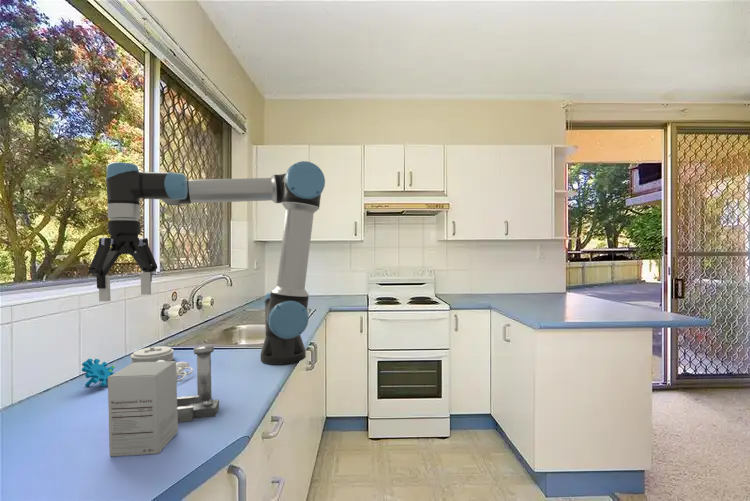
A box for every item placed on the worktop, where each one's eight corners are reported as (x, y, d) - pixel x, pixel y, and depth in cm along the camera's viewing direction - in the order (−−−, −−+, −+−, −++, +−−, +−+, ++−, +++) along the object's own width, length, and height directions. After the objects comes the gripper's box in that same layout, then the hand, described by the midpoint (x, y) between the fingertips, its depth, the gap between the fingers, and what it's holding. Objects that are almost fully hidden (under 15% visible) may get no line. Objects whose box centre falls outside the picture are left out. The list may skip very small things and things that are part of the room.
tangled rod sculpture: (164, 400, 101) (165, 384, 101) (110, 395, 102) (111, 380, 102) (199, 373, 121) (200, 360, 120) (154, 370, 121) (155, 357, 121)
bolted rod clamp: (219, 405, 93) (219, 393, 93) (214, 418, 86) (214, 405, 86) (142, 413, 90) (141, 400, 90) (129, 427, 83) (129, 413, 83)
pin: (216, 395, 100) (215, 344, 100) (212, 401, 96) (211, 348, 96) (197, 396, 99) (196, 345, 99) (192, 403, 95) (191, 350, 95)
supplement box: (133, 434, 80) (132, 361, 80) (179, 431, 81) (177, 359, 80) (107, 457, 71) (105, 376, 71) (158, 454, 72) (156, 374, 71)
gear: (101, 386, 104) (77, 359, 105) (84, 402, 103) (60, 375, 104) (128, 378, 114) (106, 353, 115) (113, 393, 114) (91, 368, 115)
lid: (176, 364, 129) (176, 349, 129) (131, 371, 122) (131, 355, 122) (171, 355, 139) (171, 342, 139) (129, 362, 132) (129, 347, 132)
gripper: (147, 223, 119) (150, 292, 119) (68, 217, 95) (71, 304, 95) (169, 222, 117) (171, 292, 118) (94, 216, 93) (97, 304, 93)
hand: (126, 297), depth 106 cm, fingers open, 13 cm apart
